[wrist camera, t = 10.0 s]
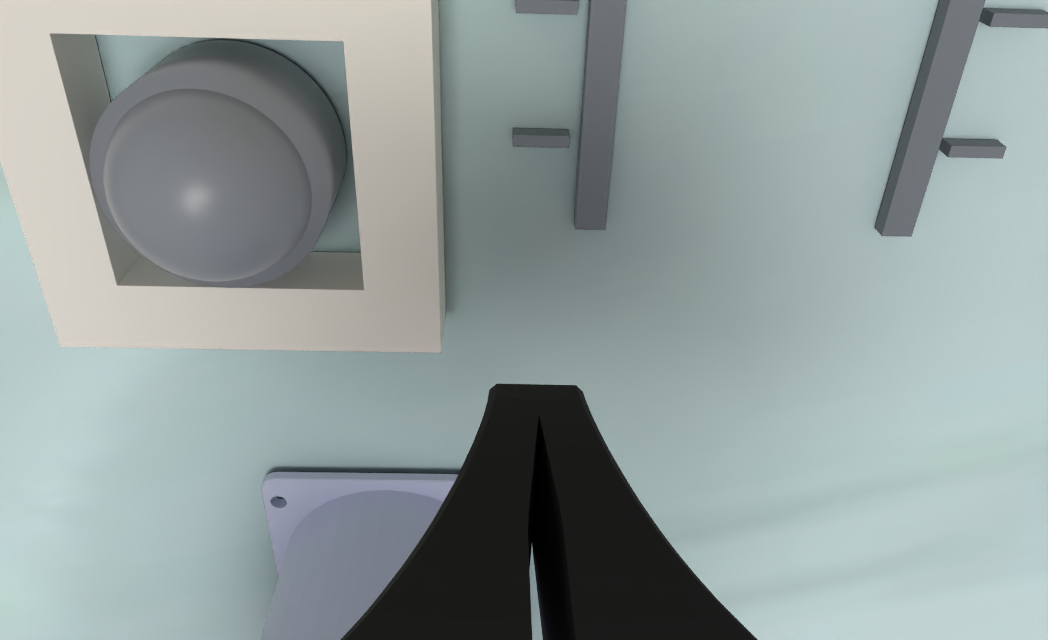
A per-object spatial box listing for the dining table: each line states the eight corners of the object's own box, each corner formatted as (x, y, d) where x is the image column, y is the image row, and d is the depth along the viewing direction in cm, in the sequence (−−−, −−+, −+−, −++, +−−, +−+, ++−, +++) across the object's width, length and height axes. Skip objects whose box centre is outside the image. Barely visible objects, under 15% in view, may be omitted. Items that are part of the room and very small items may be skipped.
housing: (445, 312, 24) (440, 352, 22) (92, 306, 24) (60, 346, 22) (437, -68, 19) (429, -52, 17) (-21, -81, 18) (-75, -68, 17)
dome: (354, 238, 23) (321, 333, 19) (159, 234, 22) (85, 329, 19) (337, 41, 20) (295, 105, 16) (113, 35, 20) (16, 98, 16)
